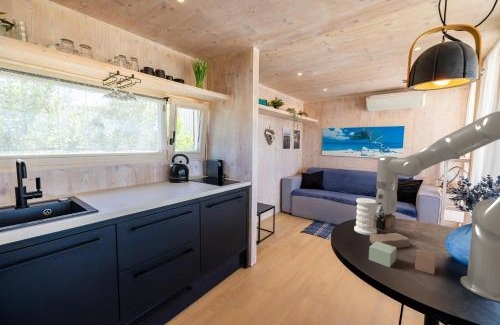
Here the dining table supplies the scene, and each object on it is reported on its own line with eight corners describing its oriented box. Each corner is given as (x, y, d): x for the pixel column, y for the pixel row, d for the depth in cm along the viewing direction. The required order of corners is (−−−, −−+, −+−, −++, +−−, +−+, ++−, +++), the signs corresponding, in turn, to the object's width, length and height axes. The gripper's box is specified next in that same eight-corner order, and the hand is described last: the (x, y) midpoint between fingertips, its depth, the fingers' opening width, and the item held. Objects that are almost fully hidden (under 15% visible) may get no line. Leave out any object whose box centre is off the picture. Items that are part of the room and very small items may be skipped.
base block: (395, 260, 95) (396, 247, 95) (389, 267, 90) (390, 253, 90) (375, 253, 101) (376, 241, 101) (368, 259, 96) (369, 246, 96)
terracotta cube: (433, 268, 90) (435, 253, 89) (434, 274, 85) (435, 259, 85) (415, 262, 94) (416, 249, 93) (414, 269, 89) (415, 254, 89)
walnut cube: (394, 229, 94) (395, 215, 93) (388, 232, 90) (389, 218, 90) (379, 225, 99) (380, 212, 98) (373, 228, 95) (374, 214, 95)
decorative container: (349, 229, 130) (351, 199, 128) (362, 225, 135) (363, 197, 133) (368, 236, 119) (370, 204, 118) (381, 232, 125) (383, 201, 123)
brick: (396, 239, 116) (396, 231, 116) (410, 247, 108) (411, 237, 108) (368, 242, 113) (369, 234, 113) (381, 250, 105) (381, 241, 104)
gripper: (387, 189, 85) (384, 235, 86) (405, 185, 95) (401, 225, 97) (367, 186, 91) (365, 229, 92) (386, 182, 101) (383, 220, 103)
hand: (383, 226), depth 94 cm, fingers closed on walnut cube, 6 cm apart
